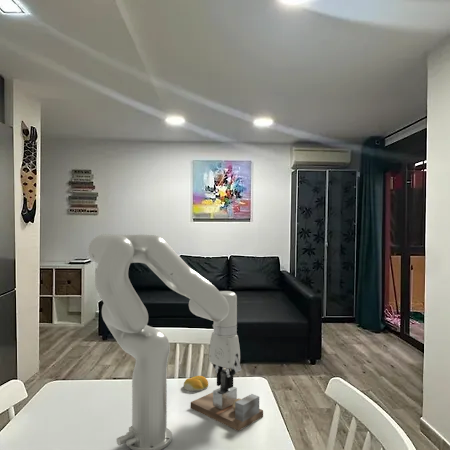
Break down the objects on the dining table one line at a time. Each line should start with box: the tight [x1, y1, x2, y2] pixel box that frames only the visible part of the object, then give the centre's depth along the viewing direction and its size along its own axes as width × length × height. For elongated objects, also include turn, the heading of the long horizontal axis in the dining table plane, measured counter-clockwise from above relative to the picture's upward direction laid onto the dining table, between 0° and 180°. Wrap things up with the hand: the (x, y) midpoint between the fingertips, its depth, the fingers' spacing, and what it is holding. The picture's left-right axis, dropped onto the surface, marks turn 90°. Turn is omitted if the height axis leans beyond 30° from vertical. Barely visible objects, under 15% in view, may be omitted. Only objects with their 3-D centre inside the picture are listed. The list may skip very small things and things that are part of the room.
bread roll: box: [183, 375, 209, 393], centre depth 149 cm, size 8×9×4 cm
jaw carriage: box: [212, 368, 238, 410], centre depth 130 cm, size 7×4×11 cm, turn 137°
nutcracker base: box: [190, 391, 264, 432], centre depth 129 cm, size 12×21×7 cm, turn 47°
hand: (224, 385), depth 130 cm, fingers closed on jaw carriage, 3 cm apart
